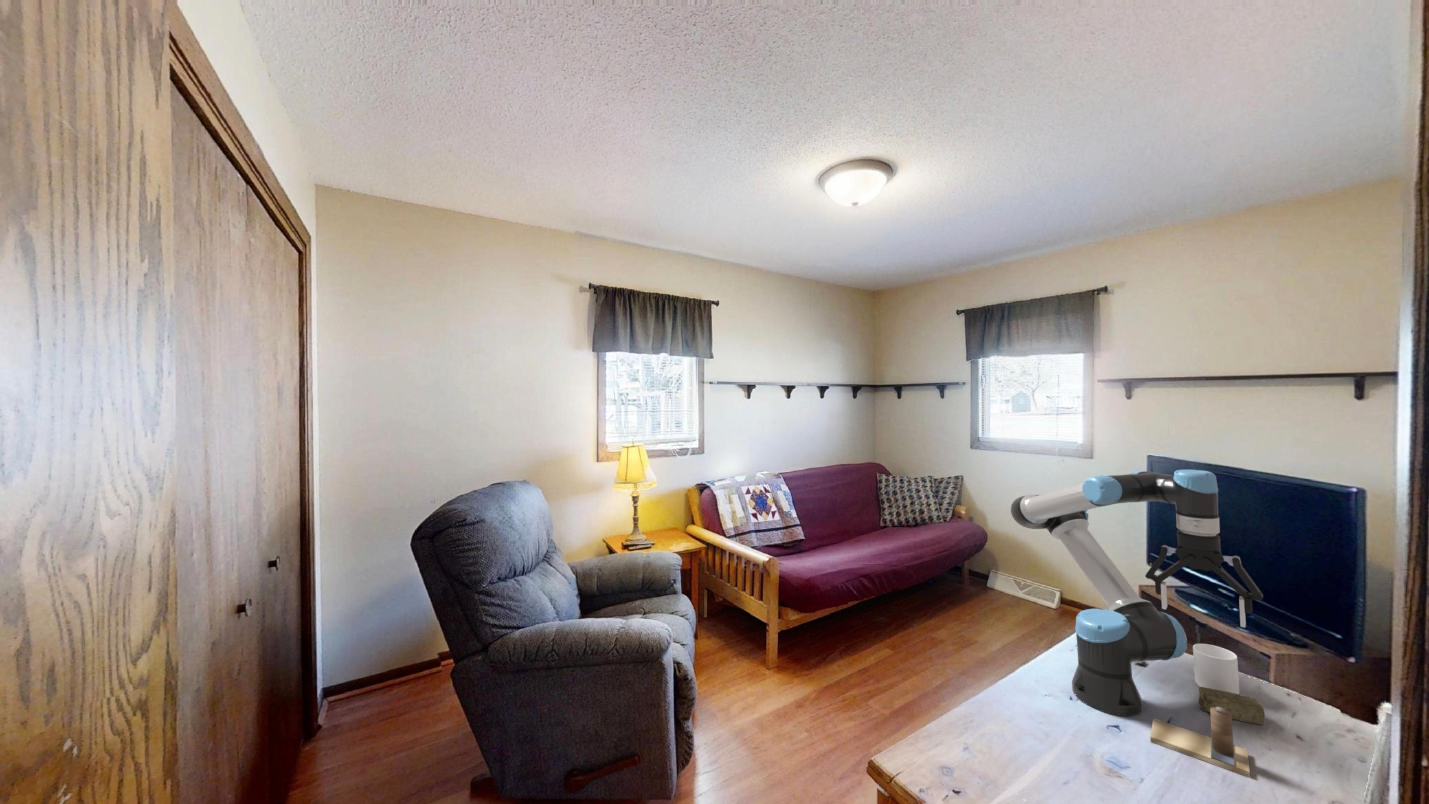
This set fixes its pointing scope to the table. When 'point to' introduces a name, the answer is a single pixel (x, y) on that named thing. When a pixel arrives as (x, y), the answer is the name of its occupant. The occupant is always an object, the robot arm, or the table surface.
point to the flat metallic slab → (1198, 747)
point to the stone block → (1232, 705)
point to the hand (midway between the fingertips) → (1202, 616)
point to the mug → (1215, 668)
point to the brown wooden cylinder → (1222, 731)
